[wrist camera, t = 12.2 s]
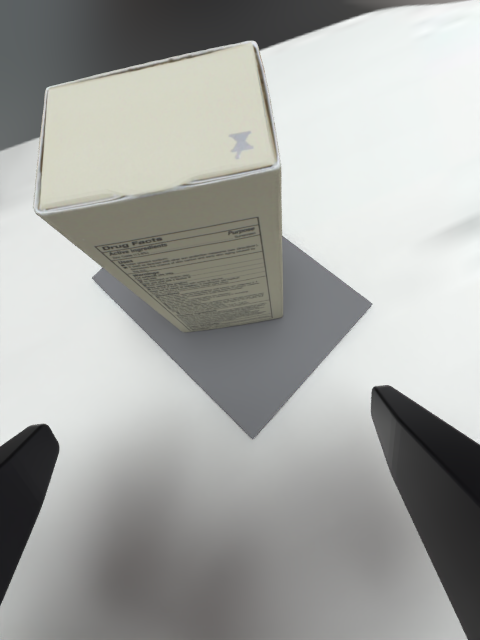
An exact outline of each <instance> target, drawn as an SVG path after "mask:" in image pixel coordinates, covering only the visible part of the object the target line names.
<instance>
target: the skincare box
mask: <svg viewBox="0 0 480 640" xmlns="http://www.w3.org/2000/svg"><path fill="white" fill-rule="evenodd" d="M33 209H34V211H35V213H36V214H37V215H38V216H40V217H41V218H42V219H43V220H44V221H46V222H47V223H48V224H49V225H51V226H52V227H53V228H54V229H56V230H57V231H58V232H59V233H61V234H62V235H63V236H64V237H66V238H67V239H68V240H69V241H70V242H72V243H73V244H74V245H75V246H77V247H78V248H79V249H81V250H82V251H83V252H84V253H85V254H87V255H88V256H89V257H90V258H92V259H93V260H94V261H95V262H97V263H98V264H99V265H100V266H101V267H103V268H104V269H105V270H106V271H108V272H109V273H110V274H111V275H112V276H114V277H115V278H116V279H117V280H119V281H120V282H121V283H122V284H124V285H125V286H126V287H127V288H129V289H130V290H131V291H132V292H133V293H135V294H136V295H137V296H138V297H140V298H141V299H142V300H143V301H145V302H146V303H147V304H148V305H150V306H151V307H152V308H153V309H155V310H156V311H157V312H158V313H159V314H161V315H162V316H163V317H164V318H166V319H167V320H168V321H169V322H171V323H172V324H173V325H174V326H176V327H177V328H178V329H179V330H180V331H182V332H192V331H201V330H209V329H216V328H223V327H230V326H236V325H242V324H248V323H254V322H260V321H265V320H271V319H276V318H281V317H282V316H283V262H282V209H281V161H280V155H279V149H278V142H277V136H276V129H275V123H274V118H273V112H272V106H271V100H270V95H269V90H268V85H267V81H266V76H265V71H264V67H263V63H262V60H261V56H260V52H259V47H258V45H257V43H256V42H255V41H246V42H242V43H238V44H232V45H227V46H222V47H217V48H212V49H207V50H203V51H198V52H194V53H188V54H184V55H180V56H175V57H170V58H167V59H164V60H158V61H153V62H149V63H145V64H141V65H136V66H132V67H128V68H124V69H120V70H115V71H112V72H107V73H103V74H99V75H94V76H91V77H87V78H83V79H79V80H75V81H72V82H67V83H63V84H59V85H54V86H50V87H47V89H46V92H45V100H44V111H43V117H42V127H41V135H40V141H39V154H38V162H37V171H36V182H35V193H34V203H33Z"/></svg>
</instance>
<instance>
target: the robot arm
mask: <svg viewBox="0 0 480 640" xmlns="http://www.w3.org/2000/svg"><path fill="white" fill-rule="evenodd" d="M371 416H372V419H373V422H374V425H375V428H376V431H377V434H378V437H379V440H380V443H381V446H382V449H383V452H384V455H385V458H386V461H387V464H388V467H389V470H390V472H391V475H392V477H393V479H394V482H395V484H396V486H397V488H398V490H399V493H400V495H401V497H402V499H403V501H404V503H405V505H406V508H407V510H408V512H409V514H410V516H411V518H412V521H413V523H414V525H415V527H416V529H417V531H418V533H419V536H420V538H421V540H422V542H423V544H424V546H425V548H426V551H427V553H428V555H429V557H430V559H431V561H432V563H433V566H434V568H435V570H436V572H437V574H438V576H439V578H440V581H441V583H442V585H443V587H444V589H445V591H446V593H447V596H448V598H449V600H450V602H451V604H452V606H453V608H454V611H455V613H456V615H457V617H458V619H459V621H460V623H461V626H462V628H463V630H464V632H465V634H466V636H467V639H468V640H480V444H478V443H476V442H475V441H473V440H472V439H470V438H469V437H467V436H466V435H464V434H463V433H461V432H460V431H458V430H457V429H455V428H454V427H452V426H451V425H449V424H448V423H446V422H445V421H443V420H442V419H440V418H439V417H437V416H435V415H434V414H432V413H431V412H429V411H428V410H426V409H425V408H423V407H422V406H420V405H419V404H417V403H416V402H414V401H413V400H411V399H410V398H408V397H407V396H405V395H404V394H402V393H401V392H399V391H397V390H396V389H394V388H393V387H391V386H389V385H383V386H375V387H373V389H372V397H371ZM58 454H59V443H58V441H57V439H56V438H55V436H54V434H53V433H52V431H51V429H50V427H49V426H48V425H46V424H37V425H31V426H29V427H27V428H26V429H24V430H23V431H22V432H20V433H19V434H17V435H16V436H15V437H13V438H12V439H10V440H9V441H7V442H6V443H5V444H3V445H2V446H0V605H1V603H2V601H3V598H4V596H5V594H6V591H7V589H8V586H9V584H10V582H11V579H12V577H13V574H14V572H15V570H16V567H17V565H18V563H19V560H20V558H21V555H22V553H23V551H24V548H25V546H26V543H27V541H28V539H29V536H30V534H31V532H32V529H33V527H34V524H35V522H36V520H37V517H38V515H39V512H40V510H41V507H42V504H43V501H44V498H45V495H46V492H47V489H48V486H49V483H50V479H51V476H52V473H53V470H54V467H55V464H56V460H57V457H58Z"/></svg>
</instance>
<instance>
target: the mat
mask: <svg viewBox="0 0 480 640" xmlns="http://www.w3.org/2000/svg"><path fill="white" fill-rule="evenodd" d="M282 262H283V316H282V317H281V318H276V319H271V320H265V321H260V322H254V323H248V324H242V325H236V326H230V327H223V328H216V329H209V330H201V331H192V332H182V331H180V330H179V329H178V328H177V327H176V326H174V325H173V324H172V323H171V322H169V321H168V320H167V319H166V318H164V317H163V316H162V315H161V314H159V313H158V312H157V311H156V310H155V309H153V308H152V307H151V306H150V305H148V304H147V303H146V302H145V301H143V300H142V299H141V298H140V297H138V296H137V295H136V294H135V293H133V292H132V291H131V290H130V289H129V288H127V287H126V286H125V285H124V284H122V283H121V282H120V281H119V280H117V279H116V278H115V277H114V276H112V275H111V274H110V273H109V272H108V271H106V270H105V269H104V268H102V269H101V270H100V271H99V272H98V273H97V274H96V275H94V276H93V277H92V279H93V280H94V281H95V282H96V283H97V284H98V285H99V286H100V287H101V288H102V289H103V290H104V291H105V292H106V293H107V294H108V295H109V296H110V297H111V298H112V299H113V300H114V301H115V302H116V303H117V304H118V305H119V306H120V307H121V308H122V309H123V310H124V311H125V312H126V313H127V314H128V315H129V316H130V317H131V318H132V319H133V320H134V321H135V322H136V323H137V324H138V325H139V326H140V327H141V328H142V329H143V330H144V331H145V332H146V333H147V334H148V335H149V336H150V337H151V338H152V339H153V340H154V341H155V342H156V343H157V344H158V345H159V346H160V347H161V348H162V349H163V350H164V351H165V352H166V353H167V354H168V355H169V356H170V357H171V358H172V359H173V360H174V361H175V362H176V363H177V364H178V365H179V366H180V367H181V368H182V369H183V370H184V371H185V372H186V373H187V374H188V375H189V376H190V377H191V378H192V379H193V380H194V381H195V382H196V383H197V384H198V385H199V386H200V387H201V388H202V389H203V390H204V391H205V392H206V393H207V394H208V395H209V396H210V397H211V398H212V399H213V400H214V401H215V402H216V403H217V404H218V405H219V406H220V407H221V408H222V409H223V410H224V411H225V412H226V413H227V414H228V415H229V416H230V417H231V418H232V419H233V420H234V421H235V422H236V423H237V424H238V425H239V426H240V427H241V428H242V429H243V430H244V431H245V432H246V433H247V434H248V435H249V436H250V437H251V438H252V439H253V438H254V437H255V436H256V435H257V434H258V433H259V432H260V431H261V429H262V428H263V427H264V426H265V425H266V424H267V423H268V422H269V420H270V419H271V418H272V417H273V416H274V415H275V414H276V412H277V411H278V410H279V409H280V408H281V407H282V406H283V405H284V403H285V402H286V401H287V400H288V399H289V398H290V397H291V396H292V394H293V393H294V392H295V391H296V390H297V389H298V388H299V387H300V385H301V384H302V383H303V382H304V381H305V380H306V379H307V377H308V376H309V375H310V374H311V373H312V372H313V371H314V370H315V368H316V367H317V366H318V365H319V364H320V363H321V362H322V361H323V359H324V358H325V357H326V356H327V355H328V354H329V353H330V352H331V350H332V349H333V348H334V347H335V346H336V345H337V344H338V342H339V341H340V340H341V339H342V338H343V337H344V336H345V335H346V333H347V332H348V331H349V330H350V329H351V328H352V327H353V326H354V324H355V323H356V322H357V321H358V320H359V319H360V318H361V317H362V315H363V314H364V313H365V312H366V311H367V310H368V309H369V307H370V306H371V305H372V303H371V302H369V301H368V300H367V299H365V298H364V297H363V296H361V295H360V294H359V293H357V292H356V291H355V290H353V289H352V288H351V287H350V286H348V285H347V284H346V283H344V282H343V281H342V280H340V279H339V278H338V277H336V276H335V275H334V274H332V273H331V272H330V271H328V270H327V269H326V268H324V267H323V266H322V265H320V264H319V263H318V262H316V261H315V260H314V259H312V258H311V257H310V256H308V255H307V254H306V253H304V252H303V251H302V250H300V249H299V248H298V247H296V246H295V245H294V244H292V243H291V242H290V241H289V240H287V239H286V238H285V237H283V236H282Z"/></svg>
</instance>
